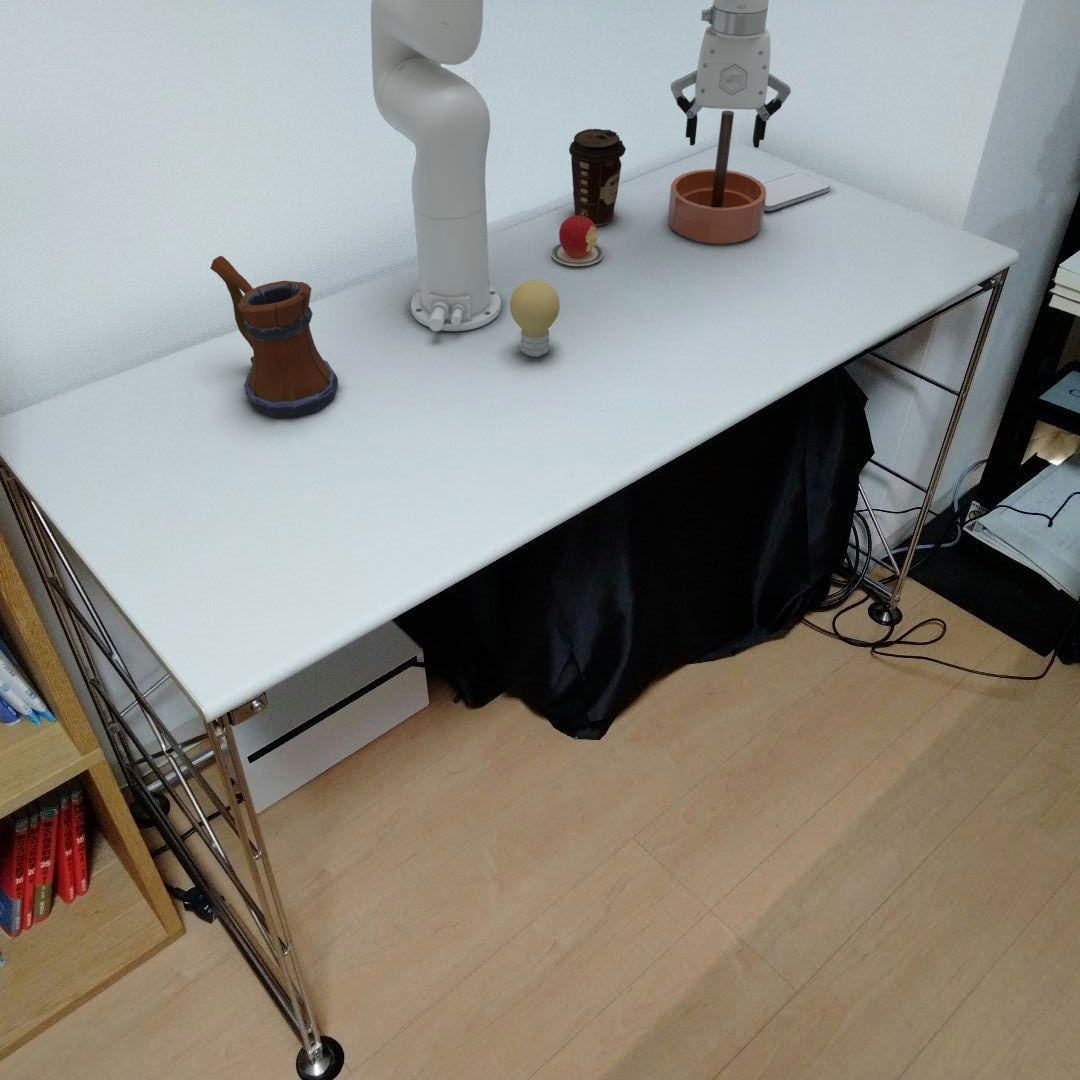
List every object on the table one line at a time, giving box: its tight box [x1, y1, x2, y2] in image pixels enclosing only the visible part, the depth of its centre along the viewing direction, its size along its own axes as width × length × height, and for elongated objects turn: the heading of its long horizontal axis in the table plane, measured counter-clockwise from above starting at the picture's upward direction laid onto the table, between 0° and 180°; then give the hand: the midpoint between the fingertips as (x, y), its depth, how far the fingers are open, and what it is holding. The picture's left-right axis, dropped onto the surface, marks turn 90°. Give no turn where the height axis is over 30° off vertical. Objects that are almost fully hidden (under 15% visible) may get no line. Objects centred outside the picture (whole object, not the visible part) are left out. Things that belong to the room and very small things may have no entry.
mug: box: [210, 255, 339, 418], centre depth 127 cm, size 18×12×15 cm, turn 45°
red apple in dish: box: [550, 212, 605, 267], centre depth 155 cm, size 8×8×6 cm
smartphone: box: [762, 172, 830, 212], centre depth 172 cm, size 7×1×15 cm
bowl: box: [667, 168, 766, 245], centre depth 162 cm, size 15×15×6 cm
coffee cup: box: [568, 128, 627, 227], centre depth 162 cm, size 9×8×13 cm
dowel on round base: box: [702, 110, 735, 208], centre depth 158 cm, size 6×6×17 cm
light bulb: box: [509, 279, 561, 358], centre depth 134 cm, size 6×6×10 cm
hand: (723, 143), depth 155 cm, fingers open, 9 cm apart
